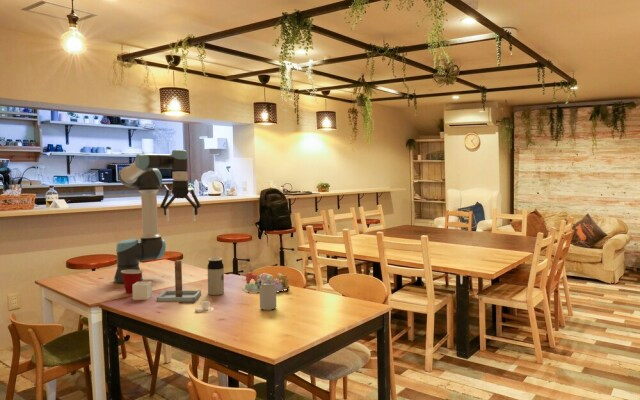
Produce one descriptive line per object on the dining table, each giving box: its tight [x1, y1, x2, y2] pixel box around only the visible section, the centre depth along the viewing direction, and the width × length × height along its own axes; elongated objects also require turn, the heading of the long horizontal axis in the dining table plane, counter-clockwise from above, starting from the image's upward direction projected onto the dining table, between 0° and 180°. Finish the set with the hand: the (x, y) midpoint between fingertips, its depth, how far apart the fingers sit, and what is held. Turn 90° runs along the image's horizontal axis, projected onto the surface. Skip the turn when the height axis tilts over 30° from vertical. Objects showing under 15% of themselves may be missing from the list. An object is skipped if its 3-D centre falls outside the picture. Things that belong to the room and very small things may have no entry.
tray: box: [156, 289, 202, 304], centre depth 244 cm, size 14×18×2 cm
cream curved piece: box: [194, 300, 215, 313], centre depth 225 cm, size 9×8×4 cm
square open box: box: [132, 281, 153, 301], centre depth 243 cm, size 7×7×8 cm
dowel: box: [174, 259, 183, 297], centre depth 243 cm, size 3×3×18 cm
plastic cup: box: [121, 269, 144, 295], centre depth 255 cm, size 11×11×12 cm
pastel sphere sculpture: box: [242, 271, 290, 294], centre depth 263 cm, size 25×24×9 cm
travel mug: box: [207, 257, 225, 296], centre depth 253 cm, size 8×8×18 cm
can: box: [259, 282, 277, 311], centre depth 225 cm, size 8×8×12 cm
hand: (181, 221), depth 255 cm, fingers open, 13 cm apart
